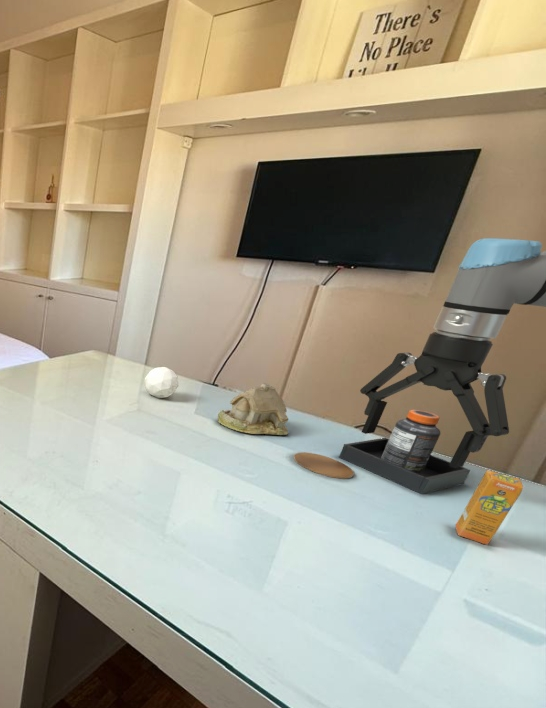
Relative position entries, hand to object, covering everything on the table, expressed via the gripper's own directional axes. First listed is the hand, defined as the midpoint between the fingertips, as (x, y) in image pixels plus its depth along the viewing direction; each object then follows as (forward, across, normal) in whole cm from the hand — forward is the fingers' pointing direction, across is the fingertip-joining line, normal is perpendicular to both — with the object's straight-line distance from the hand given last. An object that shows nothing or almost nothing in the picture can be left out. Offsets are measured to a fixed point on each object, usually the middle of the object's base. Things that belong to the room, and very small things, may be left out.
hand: (408, 448), depth 84 cm
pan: (+5, 0, 0) cm, 5 cm away
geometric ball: (+5, -42, -19) cm, 46 cm away
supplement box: (+5, +16, -14) cm, 22 cm away
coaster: (+5, -5, -14) cm, 16 cm away
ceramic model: (+5, -22, -11) cm, 25 cm away
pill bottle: (+4, 0, 0) cm, 4 cm away
